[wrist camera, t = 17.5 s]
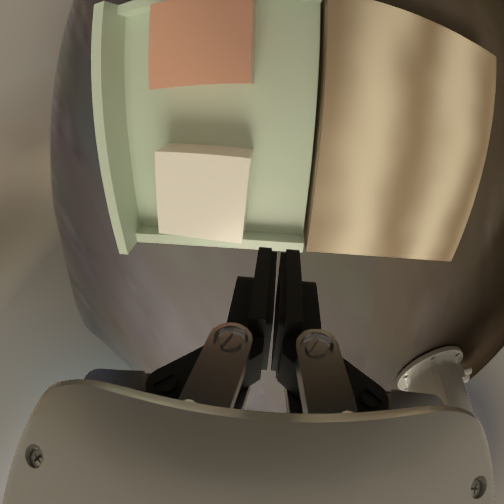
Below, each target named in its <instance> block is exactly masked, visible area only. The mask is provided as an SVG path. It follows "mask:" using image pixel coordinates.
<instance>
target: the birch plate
mask: <svg viewBox="0 0 504 504" xmlns="http://www.w3.org/2000/svg"><path fill="white" fill-rule="evenodd" d="M495 88H496V56H494V55H493V54H491V53H490V52H488V51H487V50H485V49H484V48H482V47H480V46H479V45H477V44H475V43H474V42H472V41H470V40H468V39H467V38H465V37H463V36H461V35H459V34H458V33H456V32H454V31H452V30H450V29H448V28H446V27H444V26H442V25H439V24H437V23H435V22H433V21H431V20H428V19H426V18H424V17H421V16H419V15H416V14H414V13H411V12H408V11H406V10H403V9H400V8H397V7H394V6H391V5H388V4H385V3H381V2H378V1H375V0H322V1H321V3H320V49H319V72H318V89H317V104H316V118H315V130H314V141H313V151H312V161H311V171H310V180H309V189H308V197H307V205H306V213H305V221H304V228H303V234H304V241H305V247H306V251H310V252H325V253H340V254H354V255H368V256H382V257H397V258H410V259H424V260H438V261H451V260H452V258H453V256H454V253H455V251H456V249H457V246H458V244H459V242H460V239H461V236H462V234H463V231H464V229H465V226H466V223H467V221H468V218H469V215H470V212H471V209H472V206H473V203H474V200H475V196H476V193H477V190H478V186H479V183H480V179H481V175H482V171H483V167H484V163H485V158H486V154H487V149H488V144H489V138H490V132H491V126H492V119H493V111H494V101H495Z"/></svg>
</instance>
